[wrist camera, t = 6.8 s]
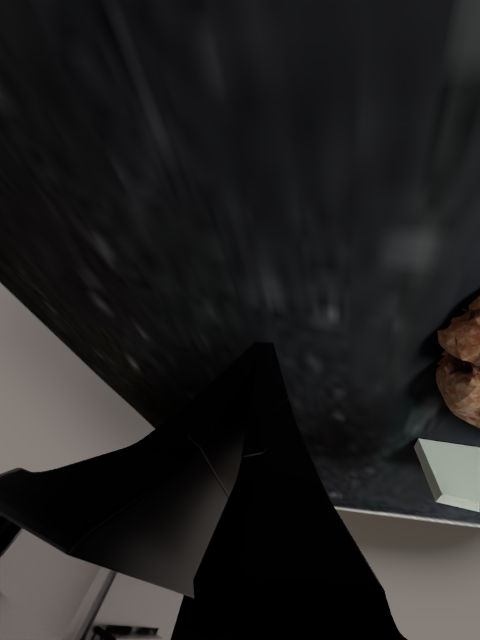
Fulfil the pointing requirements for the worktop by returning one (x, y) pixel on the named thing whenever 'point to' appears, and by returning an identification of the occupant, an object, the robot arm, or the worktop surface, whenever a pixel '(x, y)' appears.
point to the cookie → (461, 365)
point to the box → (451, 472)
